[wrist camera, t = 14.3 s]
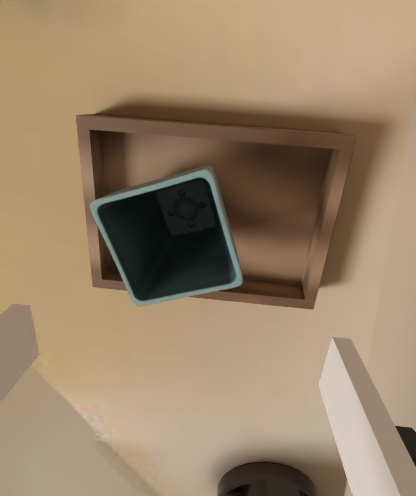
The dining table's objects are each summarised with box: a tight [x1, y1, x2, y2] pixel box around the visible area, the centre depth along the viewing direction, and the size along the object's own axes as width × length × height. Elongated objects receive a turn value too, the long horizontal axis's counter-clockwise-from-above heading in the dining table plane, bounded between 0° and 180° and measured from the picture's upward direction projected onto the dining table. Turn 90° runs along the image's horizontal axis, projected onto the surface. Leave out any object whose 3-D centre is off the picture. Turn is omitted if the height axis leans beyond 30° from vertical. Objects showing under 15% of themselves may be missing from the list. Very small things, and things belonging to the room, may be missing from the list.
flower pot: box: [90, 165, 243, 306], centre depth 26 cm, size 9×9×9 cm
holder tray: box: [76, 114, 356, 309], centre depth 29 cm, size 16×22×4 cm
